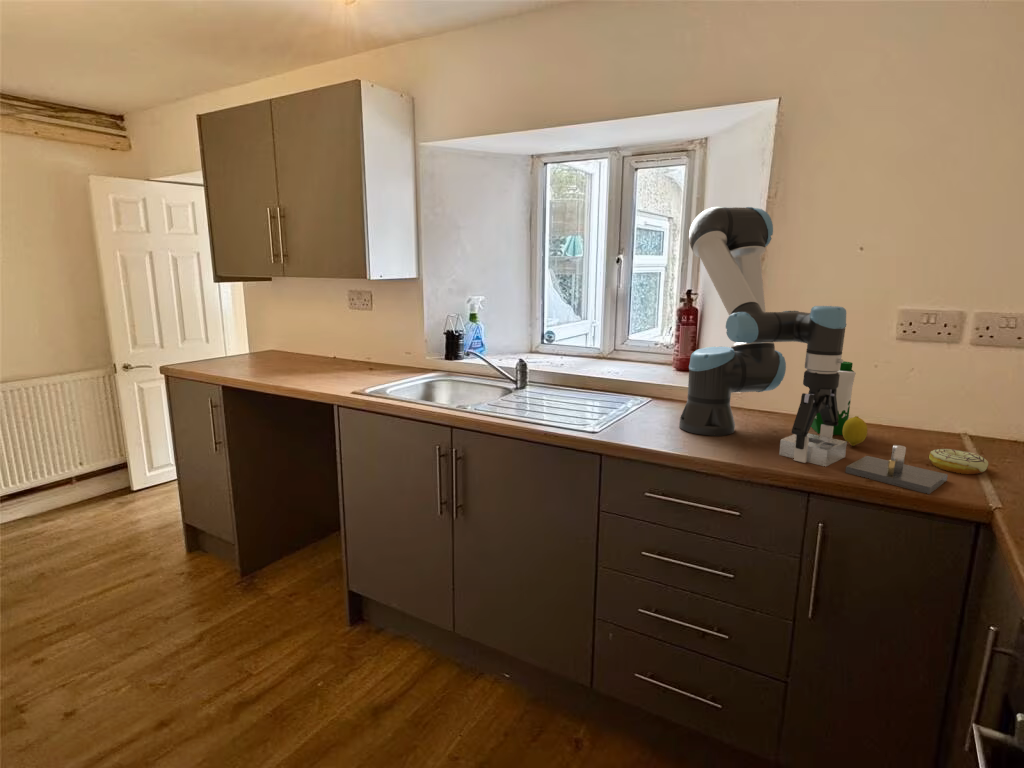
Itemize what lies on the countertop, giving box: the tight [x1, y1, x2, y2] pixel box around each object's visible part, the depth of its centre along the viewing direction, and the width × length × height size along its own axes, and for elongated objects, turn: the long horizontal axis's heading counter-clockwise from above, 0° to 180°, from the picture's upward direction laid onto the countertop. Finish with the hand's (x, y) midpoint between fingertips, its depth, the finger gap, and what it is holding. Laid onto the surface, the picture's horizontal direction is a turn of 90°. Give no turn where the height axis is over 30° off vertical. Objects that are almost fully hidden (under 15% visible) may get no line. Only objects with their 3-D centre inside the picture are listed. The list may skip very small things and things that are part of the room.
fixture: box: [844, 444, 948, 495], centre depth 125 cm, size 16×12×7 cm
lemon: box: [842, 415, 868, 447], centre depth 147 cm, size 6×6×8 cm
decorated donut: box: [928, 448, 989, 475], centre depth 131 cm, size 10×11×4 cm
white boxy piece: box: [778, 432, 848, 468], centre depth 139 cm, size 11×11×4 cm
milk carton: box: [811, 360, 856, 436], centre depth 159 cm, size 9×9×20 cm
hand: (812, 455), depth 139 cm, fingers open, 13 cm apart
